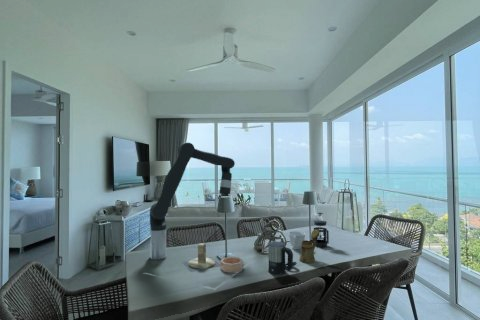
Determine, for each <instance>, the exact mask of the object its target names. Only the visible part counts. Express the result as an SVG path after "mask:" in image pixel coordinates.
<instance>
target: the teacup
mask: <svg viewBox="0 0 480 320" xmlns="http://www.w3.org/2000/svg"><path fill="white" fill-rule="evenodd" d="M287 234H288V236H289V244H290V245H291V246H292V249H294V250H301V243H302V241H303V240H305V239H306V236H307V234H306V233H305V232H302V231H289V232H288V233H287Z"/></svg>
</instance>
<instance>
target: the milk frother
mask: <svg viewBox="0 0 480 320" xmlns="http://www.w3.org/2000/svg"><path fill="white" fill-rule="evenodd" d="M285 245H286V243H285V242H284V241H283V242H282V241H270V242H269V241H268V243H267V249H268V250H267V251H268V253H267V259H268V270H267V272H268V273H269V274H271V275H283V274H286V271H292V270H293V267H295V266H296V265H297V264H298V263H297V262H296V261H294V253H293V251H292V249H290V248H289V247H287V246H285ZM286 255H287V261H286ZM286 262H287V263H286Z"/></svg>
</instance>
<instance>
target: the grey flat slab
mask: <svg viewBox="0 0 480 320" xmlns="http://www.w3.org/2000/svg"><path fill="white" fill-rule="evenodd" d="M210 258H212V259H214V258H213V257H211V256H210ZM214 260H215V259H214ZM189 261H190V260H188V261H182V264H183V265H184V266H185V267H186V268H187V269H188V271H189V272H190V273H191V272H198V271H201V270H202V271H203V270H204V269H194V268H191V267H189V266H188V262H189ZM219 267H221V263H220V262H218V261H217V260H215V265H214V266H212V267H210V268H206V269H205V270H207V269H213V268H219Z"/></svg>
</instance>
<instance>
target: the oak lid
mask: <svg viewBox="0 0 480 320" xmlns="http://www.w3.org/2000/svg"><path fill="white" fill-rule="evenodd" d="M206 246H207V243H203V242H201V243H198V244H197V257H196V258H192V259H190V260H188V261H189V262H188V266H189V267H191V268H194V269H203V270H207V269H206V268H209V269H211V268H210V267H212V266H214V265H215V258H213V257H212V258H213V259H212V258H211V257H207V256H206V255H207V254H206V253H207V247H206Z"/></svg>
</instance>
